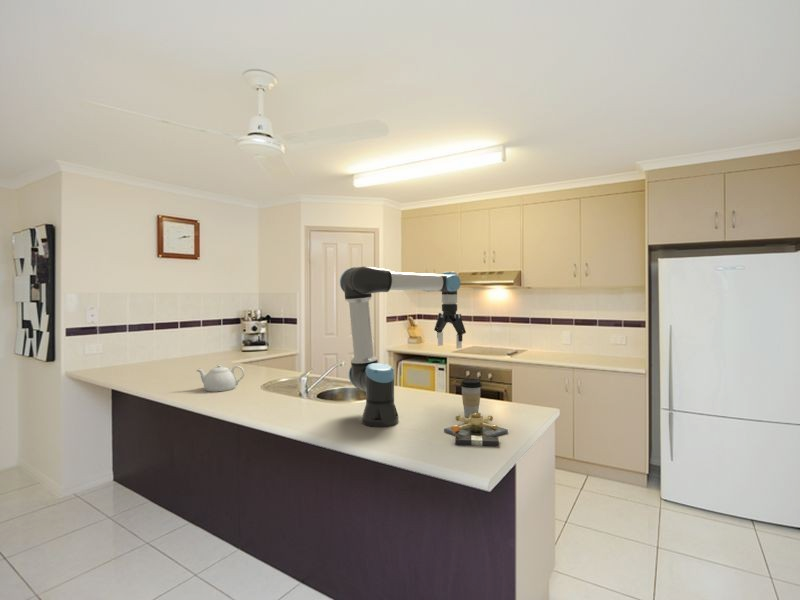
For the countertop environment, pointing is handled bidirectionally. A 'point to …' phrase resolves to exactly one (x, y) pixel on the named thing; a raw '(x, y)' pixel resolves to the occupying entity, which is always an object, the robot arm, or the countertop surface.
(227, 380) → the teapot
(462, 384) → the coffee cup
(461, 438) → the stand
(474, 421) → the handle
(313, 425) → the countertop surface
